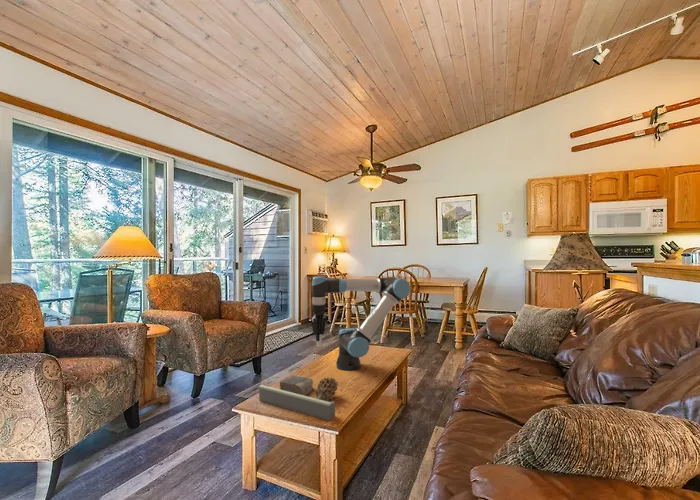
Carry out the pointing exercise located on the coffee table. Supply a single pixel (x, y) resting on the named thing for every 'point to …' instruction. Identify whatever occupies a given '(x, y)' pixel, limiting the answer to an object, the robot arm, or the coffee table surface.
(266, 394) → the end rail
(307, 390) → the geological specimen
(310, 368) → the coffee table surface
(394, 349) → the coffee table surface
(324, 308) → the robot arm
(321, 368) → the coffee table surface
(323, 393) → the pine cone
